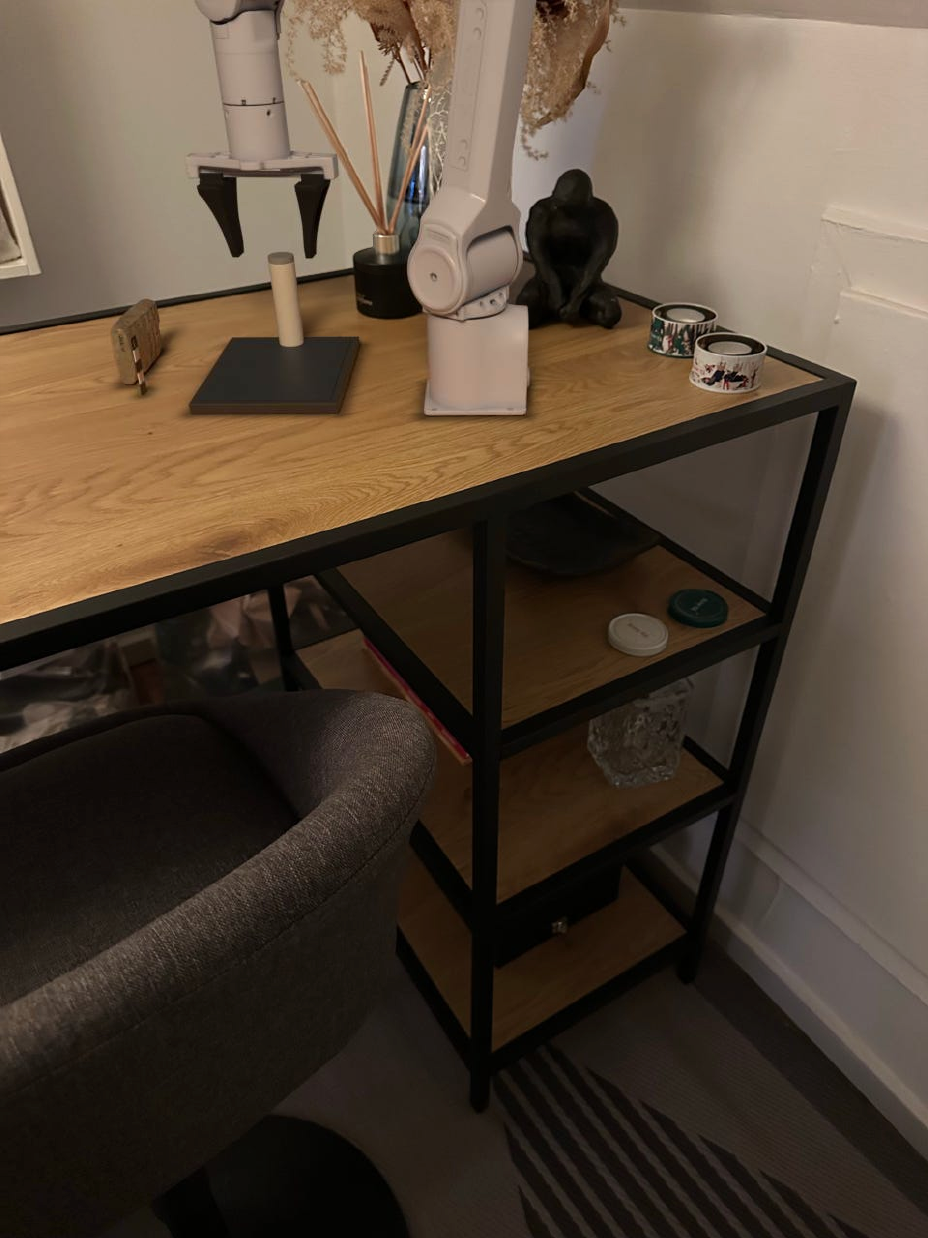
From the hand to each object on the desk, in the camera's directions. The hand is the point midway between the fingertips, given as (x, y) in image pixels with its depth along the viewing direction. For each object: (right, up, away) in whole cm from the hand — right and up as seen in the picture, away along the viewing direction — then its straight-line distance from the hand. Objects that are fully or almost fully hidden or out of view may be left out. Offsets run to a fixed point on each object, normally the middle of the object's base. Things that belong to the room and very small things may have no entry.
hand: (274, 255), depth 89 cm
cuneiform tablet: (-14, -12, +1) cm, 18 cm away
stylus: (+1, -8, +4) cm, 9 cm away
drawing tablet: (+1, -13, 0) cm, 13 cm away
